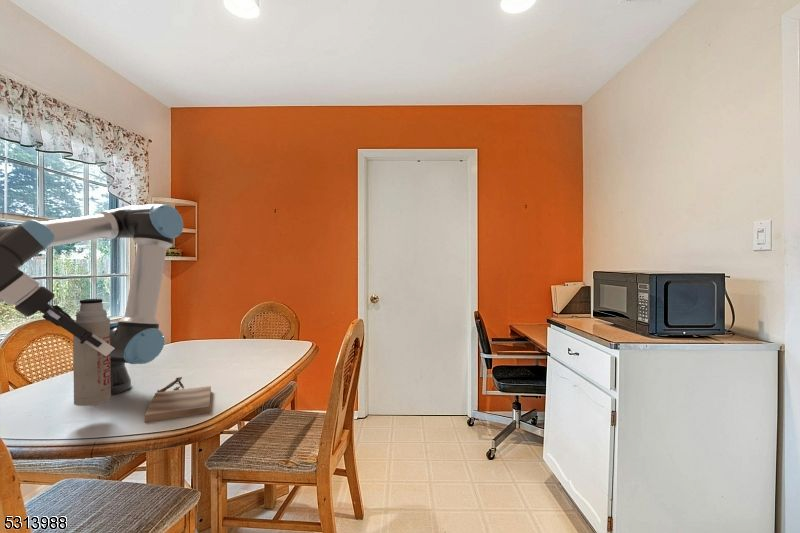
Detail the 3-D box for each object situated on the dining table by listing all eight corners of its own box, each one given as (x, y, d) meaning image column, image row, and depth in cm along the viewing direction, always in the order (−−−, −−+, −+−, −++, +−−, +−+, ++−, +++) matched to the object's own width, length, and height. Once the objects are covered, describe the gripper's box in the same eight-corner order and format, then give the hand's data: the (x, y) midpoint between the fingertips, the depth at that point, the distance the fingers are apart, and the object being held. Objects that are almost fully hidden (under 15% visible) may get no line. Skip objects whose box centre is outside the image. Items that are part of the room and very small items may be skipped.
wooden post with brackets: (187, 386, 135) (181, 375, 134) (164, 401, 129) (158, 390, 128) (185, 385, 136) (179, 374, 135) (162, 400, 131) (156, 389, 129)
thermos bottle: (118, 396, 110) (117, 298, 110) (90, 407, 102) (89, 301, 102) (94, 394, 112) (93, 297, 111) (66, 404, 104) (64, 300, 103)
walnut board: (155, 398, 125) (155, 392, 125) (210, 391, 132) (210, 386, 132) (144, 422, 107) (144, 415, 107) (209, 413, 114) (209, 406, 114)
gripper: (12, 303, 103) (90, 353, 115) (12, 311, 88) (101, 368, 100) (39, 282, 107) (112, 333, 118) (43, 287, 92) (126, 344, 104)
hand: (107, 349), depth 109 cm, fingers closed on thermos bottle, 8 cm apart
